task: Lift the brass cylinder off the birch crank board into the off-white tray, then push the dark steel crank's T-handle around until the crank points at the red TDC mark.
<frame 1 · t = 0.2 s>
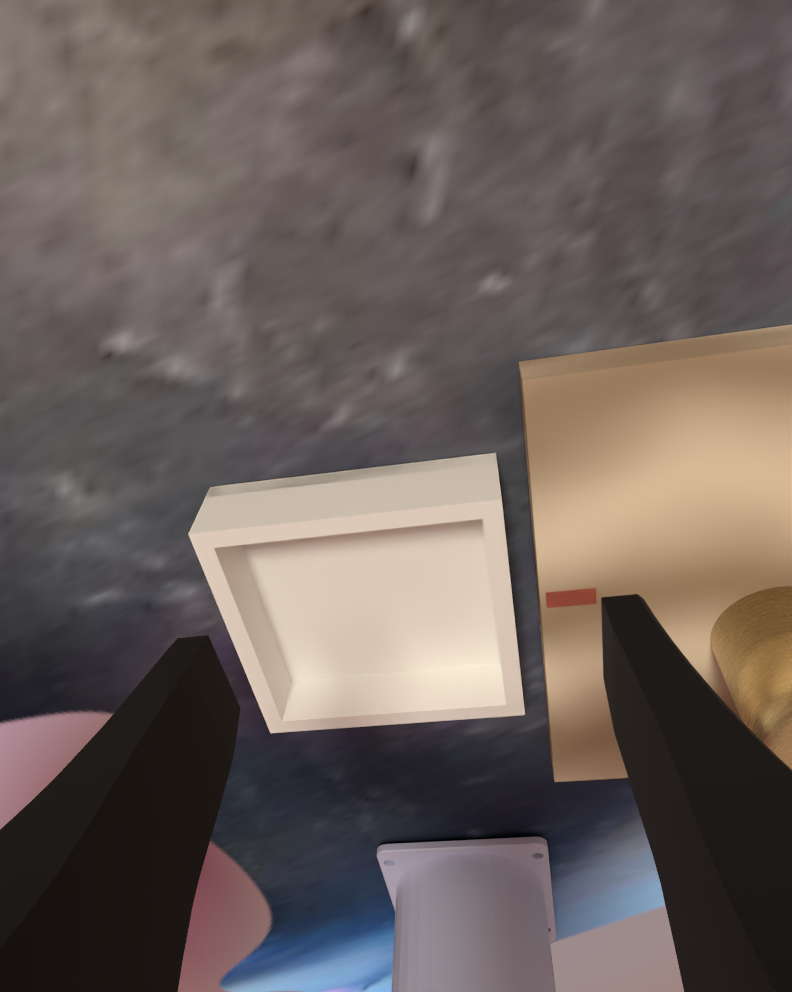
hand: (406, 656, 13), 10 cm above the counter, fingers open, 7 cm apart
crank board: (778, 575, 24), on the counter
tray: (376, 580, 25), on the counter
brass cylinder: (772, 631, 24), point 1 cm above the counter, touching crank board
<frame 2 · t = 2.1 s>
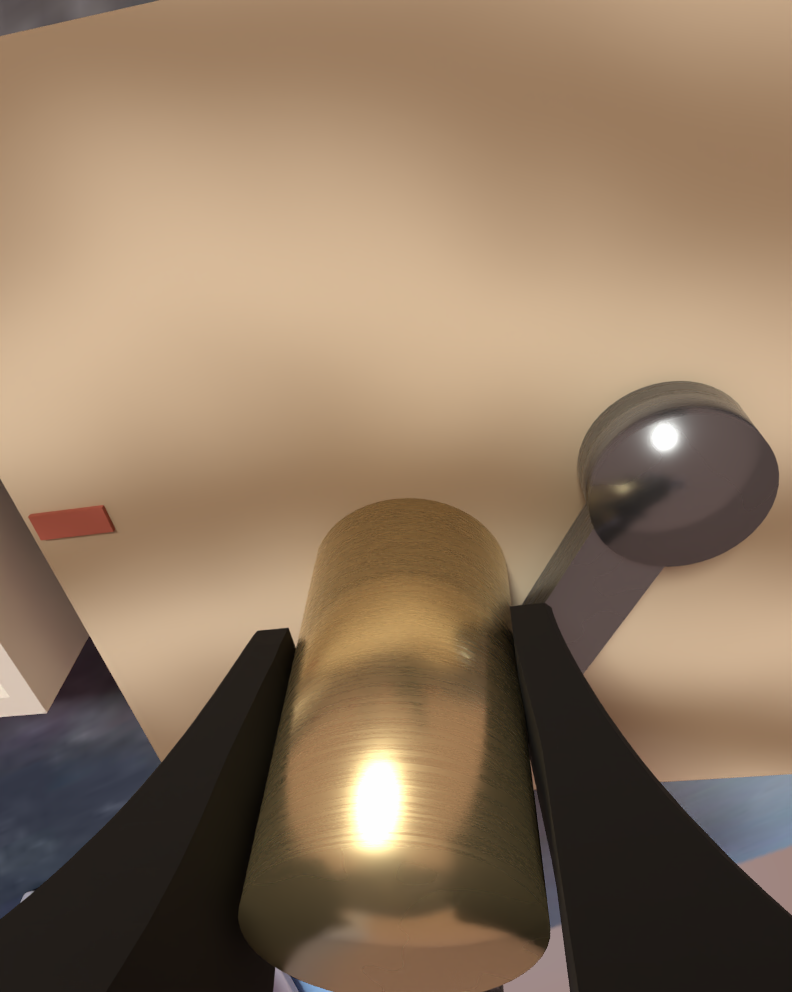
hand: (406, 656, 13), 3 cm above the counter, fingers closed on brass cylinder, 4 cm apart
crank board: (423, 488, 15), on the counter
crank: (562, 751, 13), point 4 cm above the counter, hinge at 0.0°
brass cylinder: (410, 577, 15), point 1 cm above the counter, touching crank board, gripper
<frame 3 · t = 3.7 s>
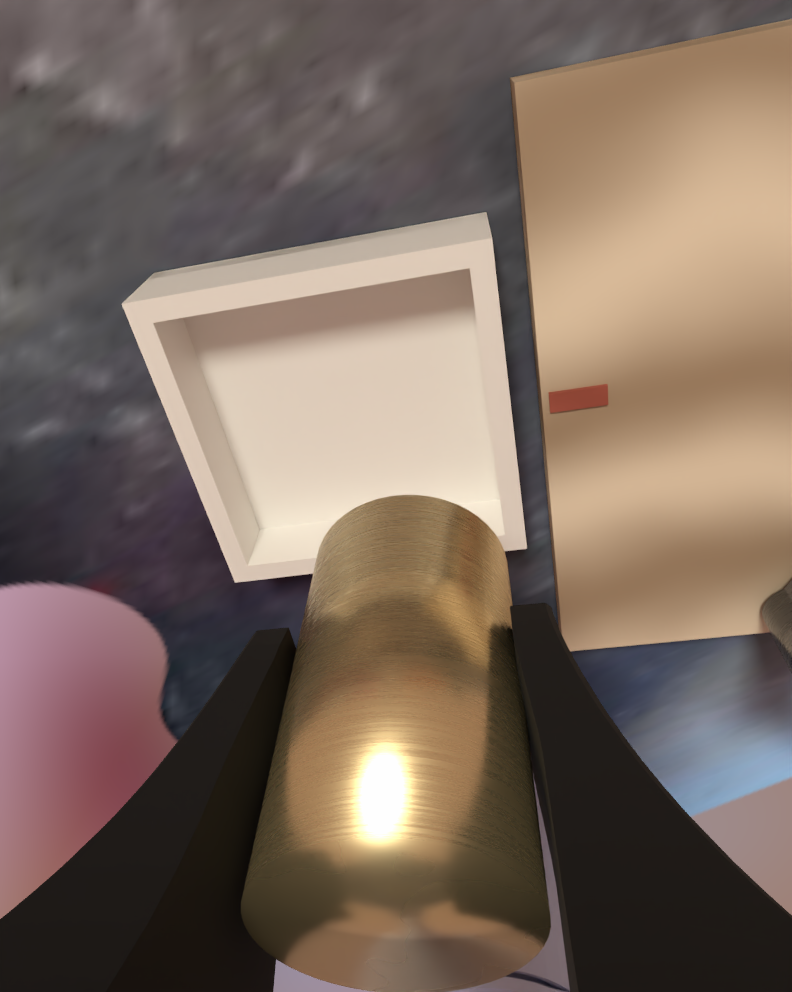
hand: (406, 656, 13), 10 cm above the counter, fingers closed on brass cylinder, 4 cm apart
tray: (352, 396, 22), on the counter
brass cylinder: (411, 573, 15), point 8 cm above the counter, touching gripper
when the fingers open (4 cm above the counter, at t = 5.6 s): brass cylinder stays where it is, resting on tray.
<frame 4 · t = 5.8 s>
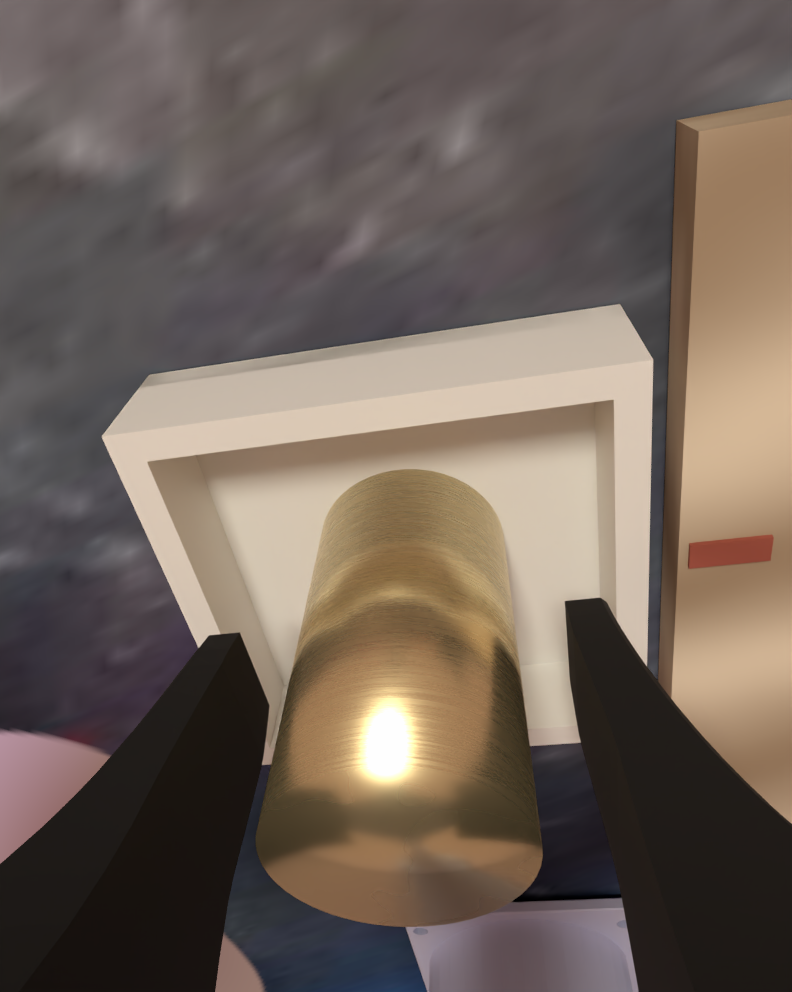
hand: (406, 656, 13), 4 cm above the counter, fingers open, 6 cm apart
tray: (412, 530, 16), on the counter
brass cylinder: (412, 546, 16), point 1 cm above the counter, touching tray
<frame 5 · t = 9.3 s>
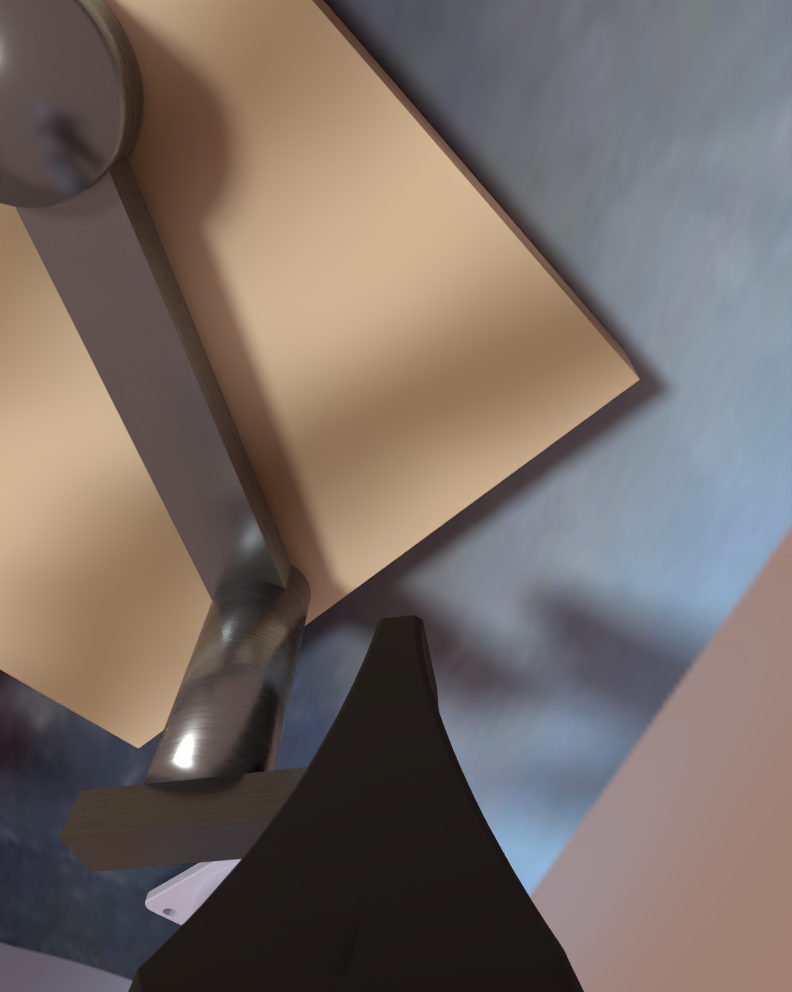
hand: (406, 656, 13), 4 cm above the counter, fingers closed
crank board: (3, 302, 14), on the counter
crank: (110, 459, 11), point 4 cm above the counter, hinge at -1.4°, touching gripper
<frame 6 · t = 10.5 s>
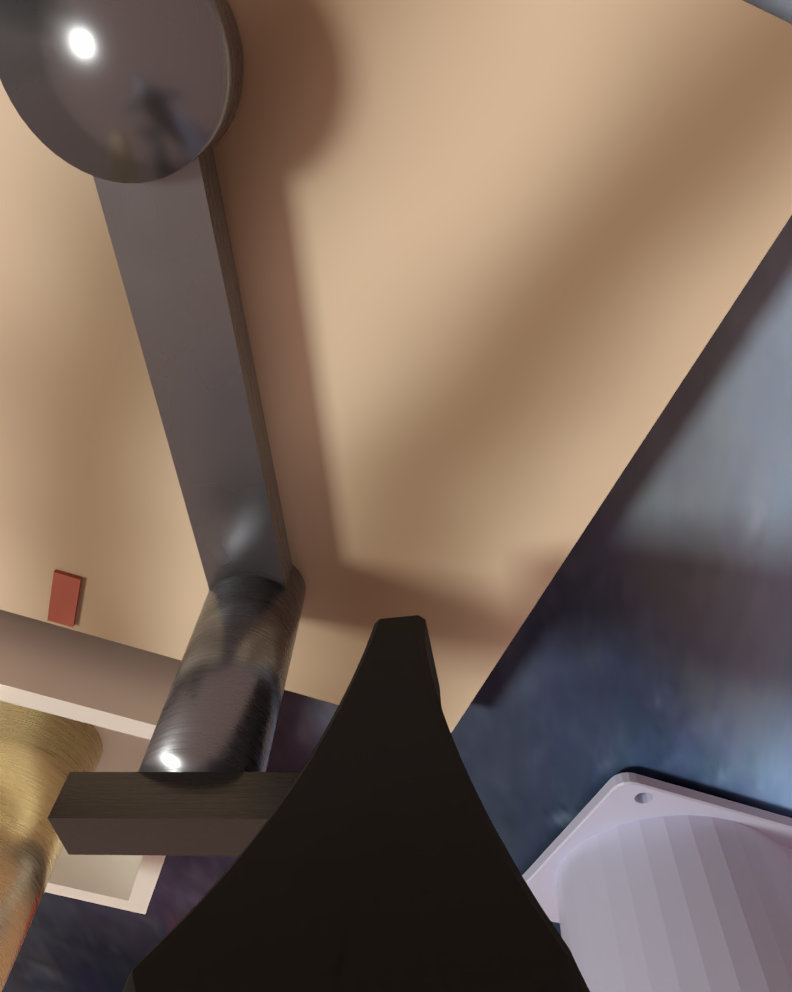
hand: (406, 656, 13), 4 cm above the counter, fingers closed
crank board: (179, 322, 14), on the counter
crank: (157, 445, 11), point 4 cm above the counter, hinge at -35.7°, touching gripper
tray: (42, 718, 21), on the counter
brass cylinder: (31, 736, 21), point 1 cm above the counter, touching tray
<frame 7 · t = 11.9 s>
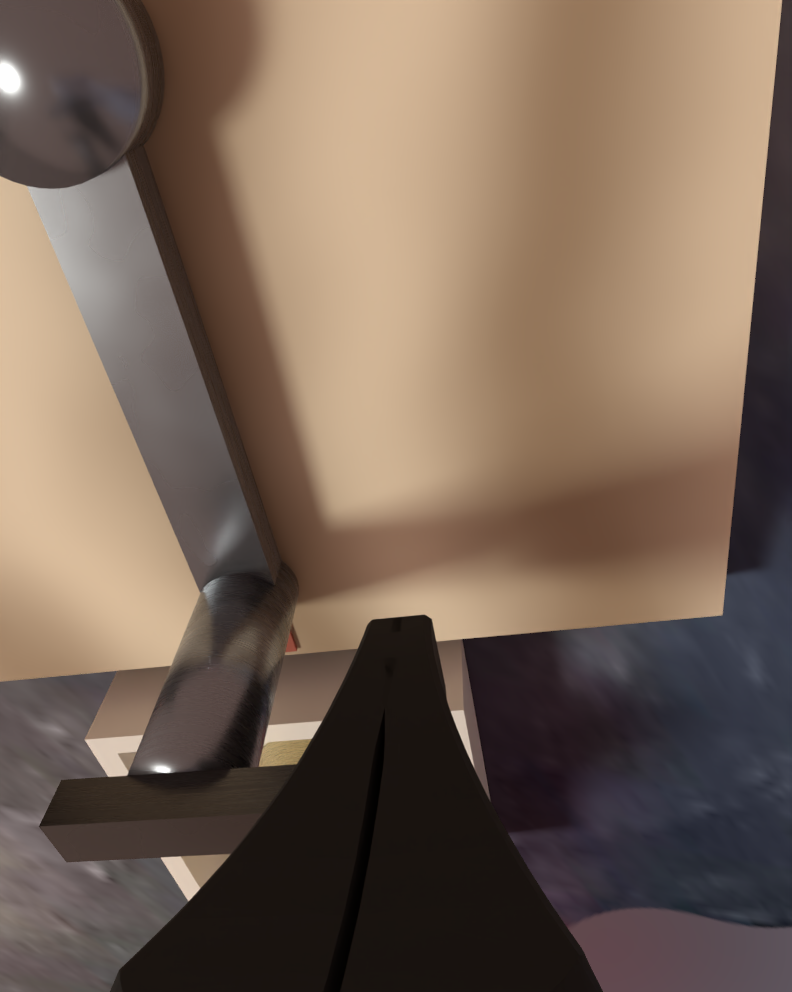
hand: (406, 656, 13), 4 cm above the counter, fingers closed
crank board: (241, 312, 14), on the counter
crank: (112, 446, 11), point 4 cm above the counter, hinge at -60.3°, touching gripper
tray: (325, 756, 22), on the counter
brass cylinder: (321, 775, 21), point 1 cm above the counter, touching tray
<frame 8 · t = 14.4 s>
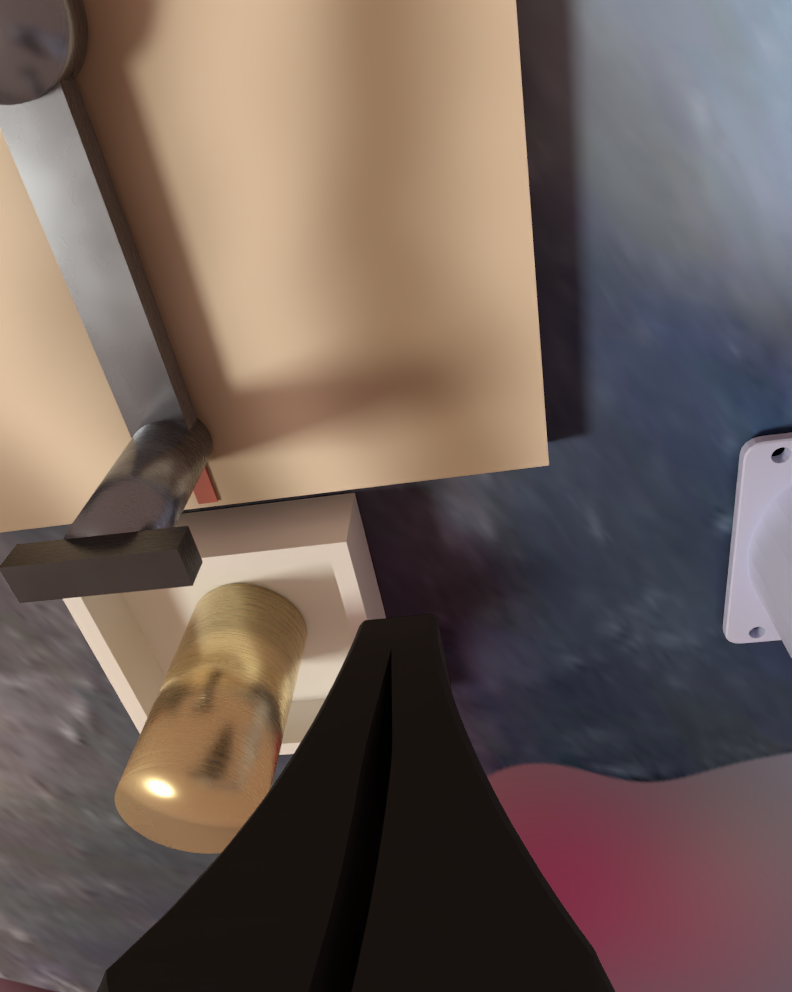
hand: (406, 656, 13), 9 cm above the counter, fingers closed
crank board: (161, 216, 18), on the counter
crank: (50, 290, 15), point 4 cm above the counter, hinge at -60.6°
tray: (255, 614, 26), on the counter
brass cylinder: (250, 627, 25), point 1 cm above the counter, touching tray
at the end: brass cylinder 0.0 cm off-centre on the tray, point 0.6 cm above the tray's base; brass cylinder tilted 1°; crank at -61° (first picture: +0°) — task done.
